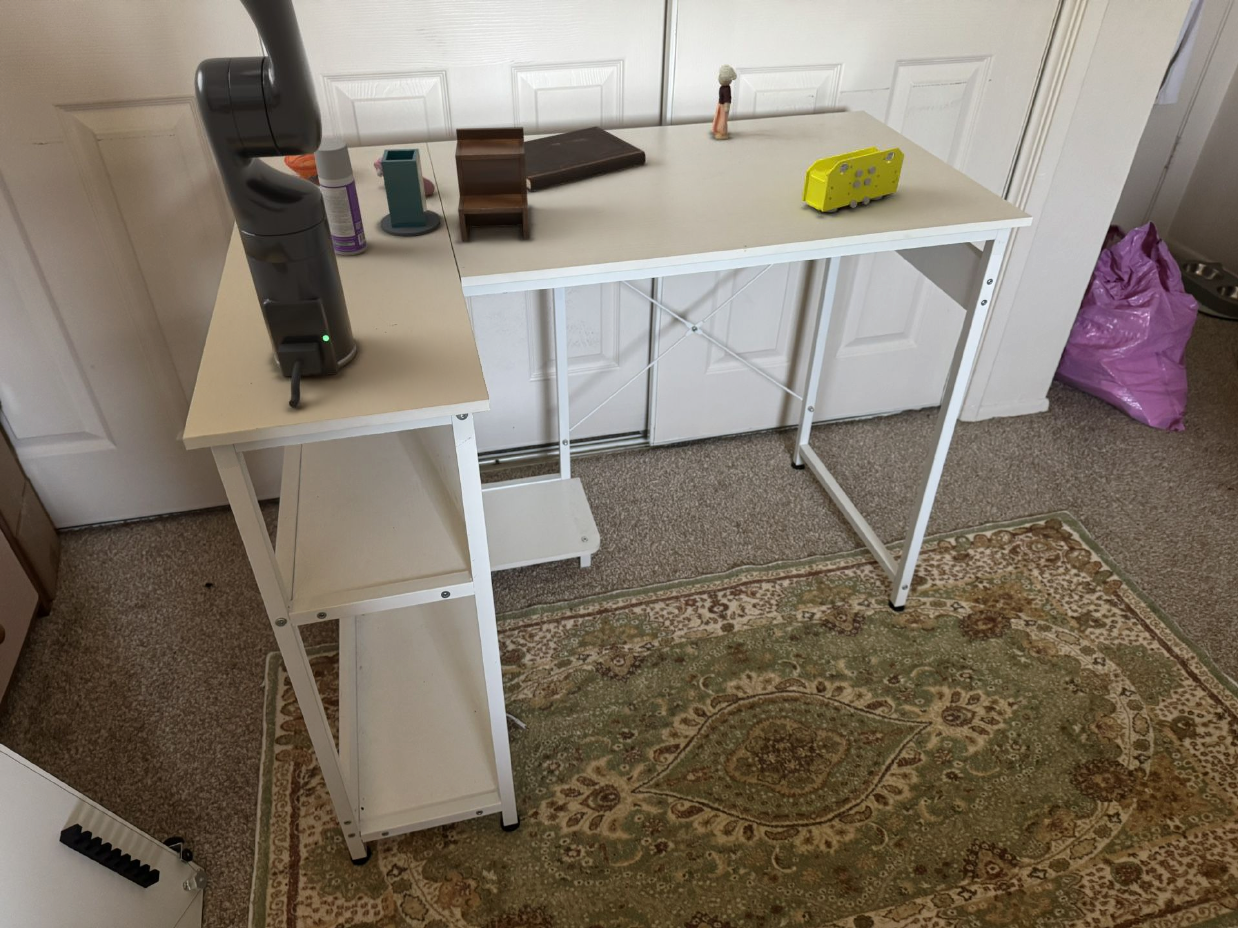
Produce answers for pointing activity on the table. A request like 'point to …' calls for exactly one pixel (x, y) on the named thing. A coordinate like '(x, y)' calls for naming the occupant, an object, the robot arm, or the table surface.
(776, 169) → the table surface
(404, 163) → the holder
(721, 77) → the grandmother figurine
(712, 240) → the table surface
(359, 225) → the container
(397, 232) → the coaster
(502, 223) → the shelf
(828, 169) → the yellow toy chassis
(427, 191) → the video game controller
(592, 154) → the hardcover book
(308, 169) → the pot
